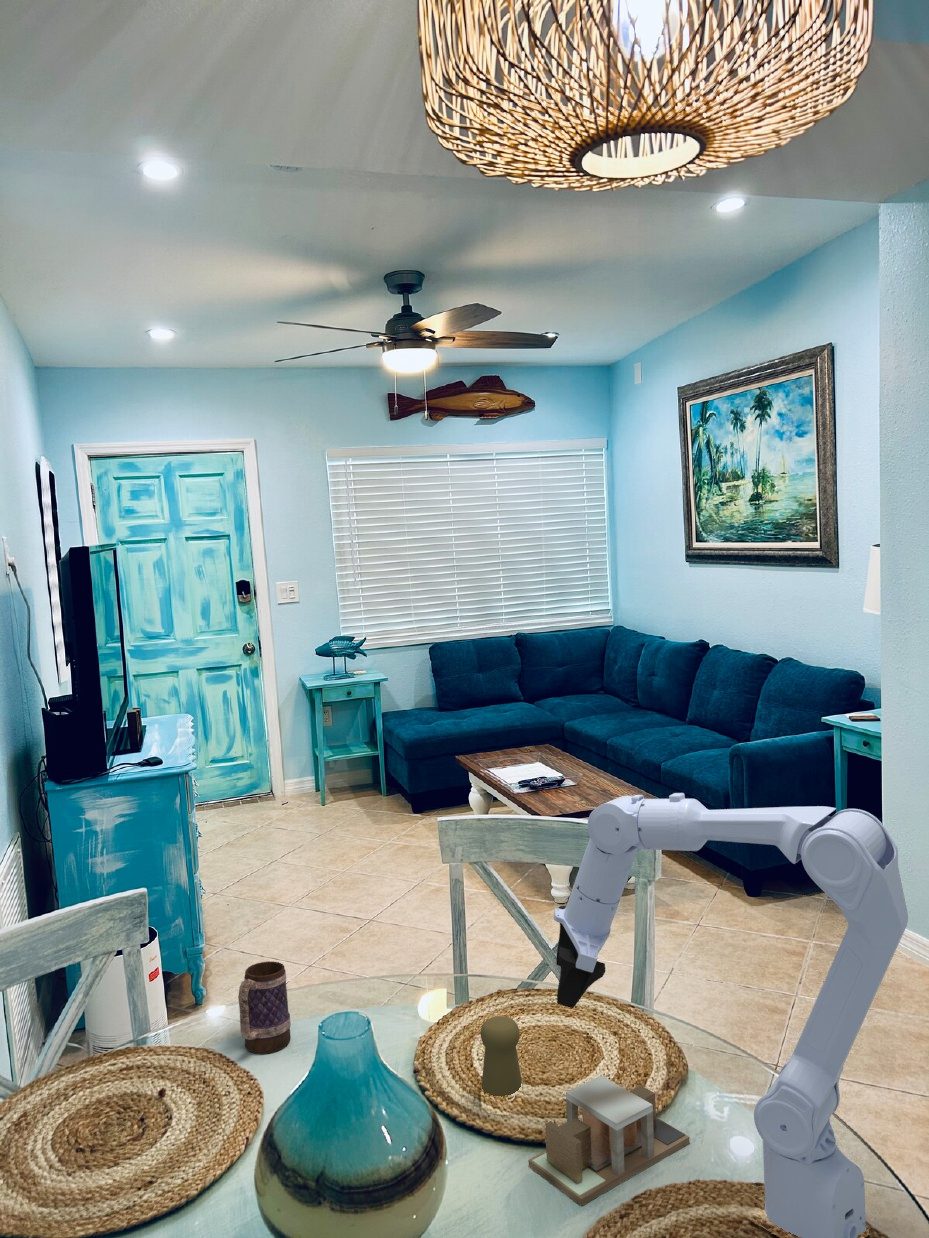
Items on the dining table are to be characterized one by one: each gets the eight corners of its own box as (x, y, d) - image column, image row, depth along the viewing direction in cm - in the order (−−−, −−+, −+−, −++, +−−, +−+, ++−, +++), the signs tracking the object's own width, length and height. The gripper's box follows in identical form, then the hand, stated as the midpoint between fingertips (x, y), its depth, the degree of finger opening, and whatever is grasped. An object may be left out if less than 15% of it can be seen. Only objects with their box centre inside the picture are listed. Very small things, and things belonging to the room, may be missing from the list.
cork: (508, 1120, 114) (505, 1035, 114) (470, 1105, 118) (467, 1023, 118) (534, 1098, 119) (531, 1017, 119) (497, 1085, 123) (494, 1006, 122)
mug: (260, 1029, 142) (257, 955, 141) (299, 1035, 139) (296, 959, 139) (222, 1061, 132) (219, 981, 132) (263, 1068, 130) (260, 986, 129)
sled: (665, 1133, 108) (663, 1096, 108) (577, 1182, 100) (575, 1142, 100) (633, 1114, 112) (632, 1078, 112) (546, 1160, 104) (545, 1121, 104)
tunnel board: (689, 1142, 108) (687, 1087, 108) (581, 1206, 97) (579, 1144, 97) (634, 1110, 115) (633, 1058, 115) (528, 1166, 105) (526, 1108, 105)
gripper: (564, 851, 114) (534, 941, 117) (566, 913, 100) (532, 1012, 103) (617, 867, 114) (585, 956, 117) (627, 931, 100) (590, 1030, 103)
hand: (564, 984), depth 110 cm, fingers open, 7 cm apart
